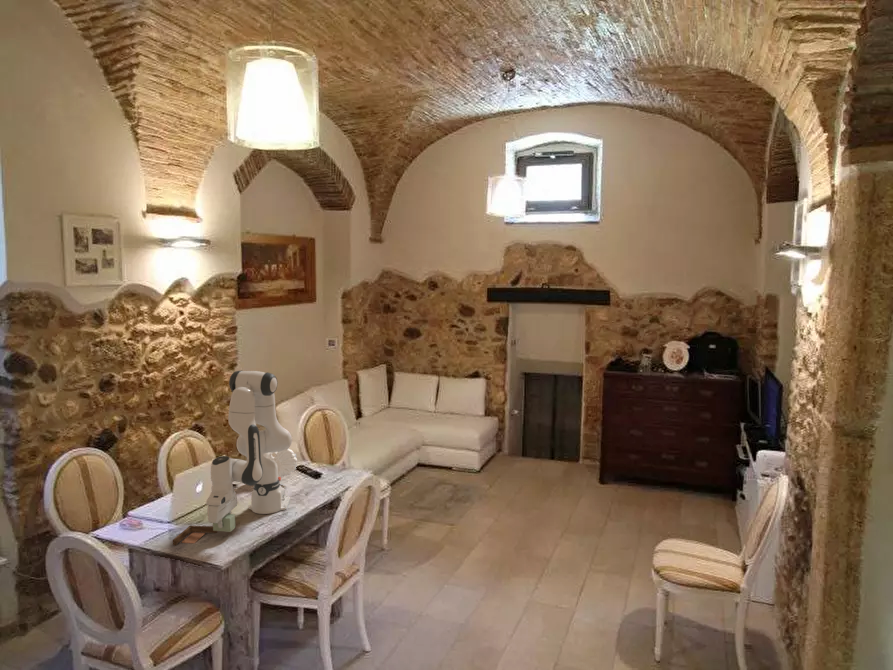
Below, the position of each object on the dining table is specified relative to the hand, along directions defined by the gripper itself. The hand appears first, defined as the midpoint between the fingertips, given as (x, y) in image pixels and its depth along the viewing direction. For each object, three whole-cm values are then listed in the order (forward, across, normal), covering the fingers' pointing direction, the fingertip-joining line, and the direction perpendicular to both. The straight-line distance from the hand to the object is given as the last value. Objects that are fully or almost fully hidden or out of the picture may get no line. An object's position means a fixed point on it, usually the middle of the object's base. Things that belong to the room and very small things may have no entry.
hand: (224, 524), depth 283 cm
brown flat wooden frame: (+6, +3, -12) cm, 13 cm away
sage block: (+2, 0, 0) cm, 2 cm away
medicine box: (+8, -92, -6) cm, 93 cm away
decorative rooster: (+7, -67, -6) cm, 68 cm away
